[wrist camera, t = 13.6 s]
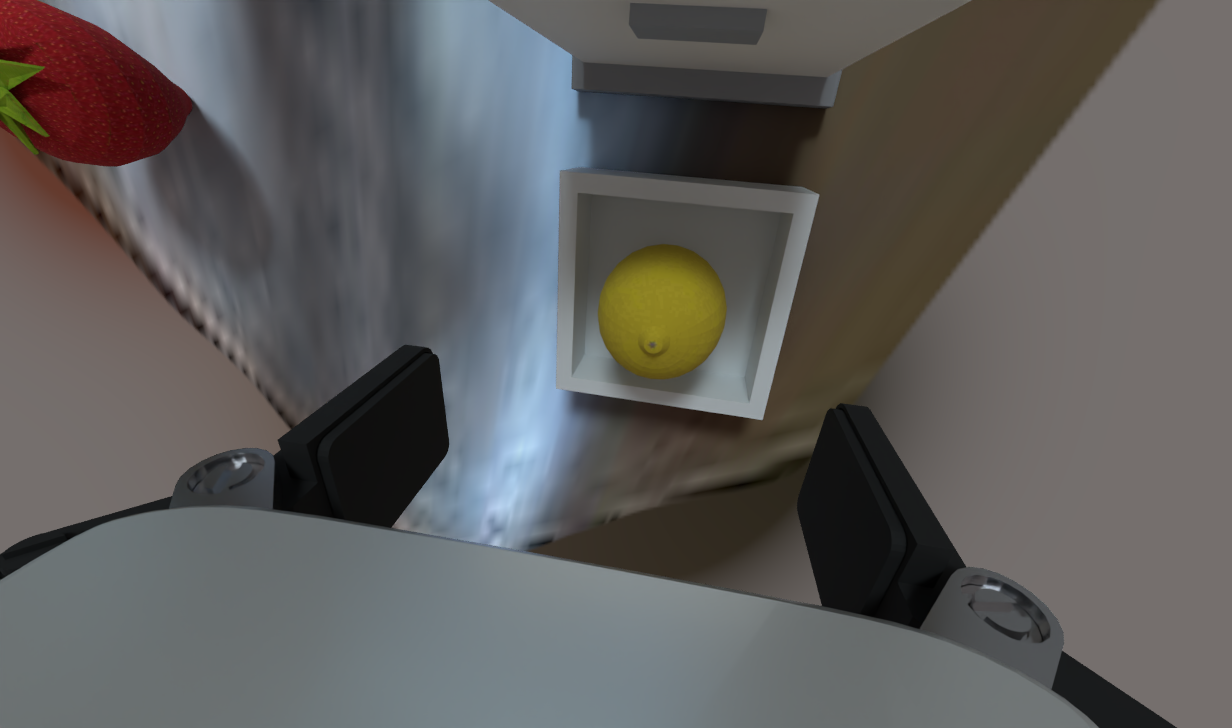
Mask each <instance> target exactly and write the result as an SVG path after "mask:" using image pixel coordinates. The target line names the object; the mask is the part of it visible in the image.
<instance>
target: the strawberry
mask: <svg viewBox="0 0 1232 728" xmlns="http://www.w3.org/2000/svg"><path fill="white" fill-rule="evenodd" d="M191 110H192V102H191V100H190V98H189V96H188V95H187V94H186V93H185V91H183V90H182V89H181V88H180V87H179V86H177V85H176V84H174V83H173V82H171V81H170V80H169V79H168V78H167V77H166V76H165V75H163V74H162V73H161V72H160V71H159V70H158V69H157V68H156V67H155V66H154V65H152V64H151V63H149V62H148V61H147V60H145V59H144V58H143V57H141V56H140V55H139V54H137V53H136V52H134V51H133V50H132V49H130V48H129V47H128V46H126V45H125V44H123V43H122V42H121V41H119V40H118V39H117V38H115V37H114V36H112V35H111V34H110V33H108V32H107V31H105V30H103V29H101V28H100V27H98V26H96V25H94V24H92V23H90V22H87V21H85V20H83V19H80V18H78V17H76V16H73V15H71V14H69V13H66V12H64V11H62V10H59V9H57V8H55V7H52V6H50V5H48V4H45V3H43V2H40V1H38V0H0V127H2V128H3V129H5V130H6V131H7V132H9V133H10V134H12V135H13V136H15V137H17V138H19V139H20V140H21V141H22V142H23V143H24V144H25V145H26V146H27V147H28V148H29V149H30V151H31V152H32V153H33V154H39V153H38V151H37V149H39V150H41V151H43V152H45V153H47V154H49V155H52V156H54V157H57V158H59V159H62V160H66V161H71V162H76V163H84V164H92V165H99V166H121V165H125V164H128V163H131V162H134V161H137V160H140V159H143V158H147V157H150V156H153V155H156V154H158V153H160V152H161V151H163V150H164V149H165V148H166V147H167V146H168V145H169V144H170V143H171V141H172V140H173V139H174V138H175V137H176V136H177V135H178V134H179V133H180V131H181V130H182V128H183V126H184V124H185V121H186V118H187V116H188V115H189V114H190V112H191ZM36 148H37V149H36Z"/></svg>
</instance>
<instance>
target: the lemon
mask: <svg viewBox="0 0 1232 728" xmlns="http://www.w3.org/2000/svg"><path fill="white" fill-rule="evenodd" d="M726 312H727V305H726V298H725V291H724V288H723V286H722V284H721V281H720V279H719V277H718V275H717V273H716V272H715V271H714V269H713V268H712V267H711V266H710V264H709V263H708V262H707V261H706V260H705V259H703V258H702V257H701V256H699V255H698V254H697V253H695V252H694V251H692V250H689V249H686V248H684V247H681V246H678V245H669V244H659V245H652V246H647V247H644V248H642V249H639V250H637V251H635V252H632V253H631V254H630V255H628V256H627V257H626V258H624V259H623V260H622V261H620V262H619V263H618V264H617V266H616V267H615V268H614V269H613V271H612V272H611V273H610V275H609V276H608V277H607V279H606V282H605V284H604V286H603V289H602V291H601V294H600V299H599V306H598V322H599V330H600V334H601V337H602V339H603V342H604V344H605V347H606V348H607V350H608V351H609V352H610V354H611V355H612V357H613V358H614V359H615V361H617V362H618V363H619V364H620V365H621V366H622V367H624V368H625V369H626V370H628V371H630V372H632V373H634V374H636V375H638V376H642V377H645V378H649V379H664V380H665V379H670V378H675V377H679V376H681V375H684V374H686V373H688V372H690V371H692V370H694V369H695V368H697V367H698V366H699V365H700V364H702V363H703V362H704V361H705V360H706V359H707V358H708V357H709V355H710V354H711V353H712V351H713V350H714V349H715V347H716V346H717V344H718V342H719V339H720V337H721V335H722V332H723V330H724V326H725V320H726Z"/></svg>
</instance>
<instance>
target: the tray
mask: <svg viewBox="0 0 1232 728" xmlns="http://www.w3.org/2000/svg"><path fill="white" fill-rule="evenodd" d="M818 198H819V194H817V193H815V192H813V191H810V190H808V189H806V188H804V187H797V186H786V185H775V184H764V183H753V182H742V181H731V180H720V179H709V178H698V177H687V176H676V175H665V174H654V173H643V172H632V171H620V170H609V169H598V168H587V167H577V168H571V169H566V170H561V171H560V196H559V254H558V312H557V370H556V389H562V390H569V391H575V392H582V393H588V394H595V395H602V396H608V397H615V398H621V399H628V400H634V401H641V402H648V403H654V404H661V405H667V406H674V407H680V408H687V409H694V410H700V411H707V412H713V413H720V414H727V415H733V416H740V417H746V418H753V419H759V420H763V416H764V412H765V408H766V404H767V400H768V396H769V392H770V388H771V384H772V380H773V376H774V372H775V368H776V364H777V360H778V356H779V352H780V349H781V345H782V341H783V337H784V333H785V329H786V325H787V321H788V317H789V313H790V309H791V305H792V301H793V297H794V293H795V289H796V285H797V281H798V277H799V273H800V269H801V265H802V261H803V257H804V253H805V249H806V246H807V242H808V238H809V234H810V230H811V226H812V222H813V218H814V214H815V210H816V206H817V202H818ZM659 244H669V245H678V246H681V247H684V248H686V249H689V250H692V251H694V252H695V253H697V254H698V255H699V256H701V257H702V258H703V259H705V260H706V261H707V262H708V263H709V264H710V266H711V267H712V268H713V269H714V271H715V272H716V273H717V275H718V277H719V279H720V281H721V284H722V286H723V288H724V291H725V298H726V305H727V312H726V320H725V326H724V330H723V332H722V335H721V337H720V339H719V342H718V344H717V346H716V347H715V349H714V350H713V351H712V353H711V354H710V355H709V357H708V358H707V359H706V360H705V361H704V362H703V363H702V364H700V365H699V366H698V367H697V368H695V369H694V370H692V371H690V372H688V373H686V374H684V375H681V376H679V377H675V378H670V379H665V380H664V379H649V378H645V377H642V376H638V375H636V374H634V373H632V372H630V371H628V370H626V369H625V368H624V367H622V366H621V365H620V364H619V363H618V362H617V361H615V359H614V358H613V357H612V355H611V354H610V352H609V351H608V350H607V348H606V347H605V344H604V342H603V339H602V337H601V334H600V330H599V322H598V306H599V299H600V294H601V291H602V289H603V286H604V284H605V282H606V279H607V277H608V276H609V275H610V273H611V272H612V271H613V269H614V268H615V267H616V266H617V264H618V263H619V262H620V261H622V260H623V259H624V258H626V257H627V256H628V255H630V254H631V253H632V252H635V251H637V250H639V249H642V248H644V247H647V246H652V245H659Z"/></svg>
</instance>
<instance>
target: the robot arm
mask: <svg viewBox="0 0 1232 728" xmlns="http://www.w3.org/2000/svg"><path fill="white" fill-rule="evenodd" d="M278 442H279V445H280V448H281V450H280V451H279V452H278V453H276V454H275V455H274V456H273V455H272V454H271V453H269V452H268V451H267V450H262V449H258V448H243V449H237V450H230V451H227V452H223V453H220V454H216V455H214V456H212V457H210V458H207V459H205V460H203V461H201V462H199V463H198V464H196V465H194V466H193V467H191V468H190V469H188V470H187V471H186V472H185V473H184V474H183V475H182V476H181V477H180V478H179V480H178V482H177V484H176V486H175V489H174V492H173V496H171V497H167V498H164V499H161V500H157V501H154V502H150V503H147V504H143V505H140V506H137V507H133V508H129V509H126V510H123V511H119V512H115V513H112V514H109V515H105V516H102V517H98V518H95V519H91V520H88V521H84V522H81V523H78V524H74V525H70V526H67V527H63V528H60V529H57V530H53V531H50V532H47V533H43V534H39V535H35V536H32V537H29V538H27V539H25V540H23V541H20V542H18V543H17V544H15V545H13V546H11V547H10V548H8V549H7V550H6V551H5V552H3V553H2V554H0V728H1177V727H1175V726H1173V725H1172V724H1170V723H1169V722H1168V721H1166V720H1165V719H1163V718H1162V717H1160V716H1159V715H1157V714H1156V713H1154V712H1153V711H1151V710H1149V709H1148V708H1147V707H1145V706H1144V705H1142V704H1141V703H1139V702H1138V701H1136V700H1135V699H1133V698H1131V697H1130V696H1129V695H1127V694H1126V693H1124V692H1123V691H1121V690H1120V689H1118V688H1117V687H1115V686H1114V685H1112V684H1111V683H1109V682H1108V681H1106V680H1105V679H1103V678H1102V677H1100V676H1099V675H1097V674H1096V673H1095V672H1093V671H1092V670H1090V669H1089V668H1087V667H1086V666H1084V665H1083V664H1081V663H1079V662H1078V661H1076V660H1075V659H1074V658H1072V657H1071V656H1069V655H1068V654H1066V653H1065V652H1063V651H1062V649H1063V645H1064V637H1063V636H1064V635H1063V630H1062V628H1061V626H1060V624H1059V622H1058V620H1057V618H1056V617H1055V616H1054V615H1053V613H1052V612H1051V611H1050V610H1049V608H1048V607H1047V606H1046V605H1045V604H1044V603H1043V602H1042V601H1040V600H1039V599H1038V598H1037V597H1036V596H1035V595H1034V594H1033V593H1032V592H1030V591H1028V590H1027V589H1026V588H1024V587H1023V586H1021V585H1019V584H1018V583H1017V582H1015V581H1013V580H1011V579H1009V578H1007V577H1005V576H1003V575H1001V574H999V573H996V572H992V571H990V570H986V569H983V568H975V567H966V566H965V564H964V563H963V561H962V559H961V557H960V556H959V554H958V553H957V551H956V549H955V548H954V546H953V544H952V543H951V541H950V540H949V538H948V536H947V535H946V533H945V531H944V530H943V528H942V526H941V525H940V523H939V521H938V520H937V518H936V517H935V515H934V513H933V512H932V510H931V508H930V507H929V505H928V504H927V502H926V500H925V499H924V497H923V496H922V494H921V492H920V490H919V489H918V487H917V485H916V484H915V482H914V481H913V479H912V477H911V476H910V474H909V473H908V471H907V469H906V468H905V466H904V464H903V463H902V461H901V459H900V458H899V456H898V455H897V453H896V452H895V450H894V448H893V446H892V445H891V443H890V441H889V440H888V438H887V437H886V435H885V434H884V432H883V430H882V428H881V427H880V425H879V423H878V422H877V420H876V419H875V417H874V415H873V414H872V412H871V410H870V409H869V408H868V407H864V406H857V405H849V404H842V403H841V404H839V405H838V406H837V407H836V409H832V408H830V409H829V410H828V411H827V414H826V416H825V419H824V422H823V425H822V428H821V431H820V434H819V437H818V440H817V443H816V446H815V449H814V452H813V455H812V458H811V461H810V464H809V467H808V470H807V473H806V476H805V479H804V482H803V485H802V488H801V491H800V494H799V497H798V502H797V511H798V515H799V519H800V523H801V527H802V531H803V535H804V539H805V542H806V546H807V550H808V554H809V558H810V561H811V565H812V569H813V573H814V577H815V580H816V584H817V588H818V592H819V595H820V599H821V604H822V606H819V605H814V604H808V603H802V602H797V601H791V600H787V599H782V598H777V597H771V596H766V595H761V594H756V593H750V592H745V591H739V590H734V589H729V588H723V587H718V586H712V585H707V584H702V583H696V582H690V581H685V580H680V579H674V578H669V577H664V576H658V575H653V574H648V573H642V572H636V571H631V570H626V569H620V568H615V567H609V566H603V565H598V564H593V563H587V562H581V561H576V560H570V559H565V558H559V557H553V556H547V555H542V554H536V553H531V552H526V551H520V550H514V549H509V548H503V547H498V546H492V545H486V544H481V543H475V542H469V541H463V540H458V539H452V538H446V537H440V536H434V535H429V534H423V533H417V532H411V531H406V530H400V529H394V528H391V527H392V526H393V525H394V523H395V522H396V521H397V519H398V518H399V517H400V515H401V514H402V513H403V511H404V510H405V509H406V508H407V506H408V505H409V504H410V502H411V501H412V500H413V498H414V497H415V496H416V494H417V493H418V492H419V490H420V489H421V488H422V486H423V485H424V484H425V483H426V481H427V480H428V479H429V477H430V476H431V475H432V473H433V472H434V471H435V469H436V468H437V467H438V465H439V464H440V463H441V461H442V460H443V459H444V457H445V456H446V454H447V452H448V448H449V437H448V429H447V421H446V413H445V405H444V397H443V389H442V381H441V373H440V365H439V359H438V357H437V355H435V354H433V353H432V351H431V349H429V348H426V347H419V346H412V345H404V346H402V347H401V348H399V349H398V350H397V351H395V352H394V353H393V354H391V355H390V356H389V357H387V358H386V359H385V360H383V361H382V362H381V363H379V364H378V365H377V366H375V367H374V368H373V369H371V370H370V371H369V372H367V373H366V374H365V375H363V376H362V377H361V378H359V379H358V380H357V381H355V382H354V383H353V384H351V385H350V386H349V387H347V388H346V389H345V390H343V391H342V392H341V393H339V394H338V395H337V396H335V397H334V398H333V399H331V400H330V401H329V402H327V403H326V404H325V405H323V406H322V407H321V408H319V409H318V410H317V411H315V412H314V413H313V414H311V415H310V416H309V417H307V418H306V419H305V420H303V421H302V422H301V423H299V424H298V425H297V426H295V427H294V428H293V429H291V430H290V431H289V432H288V433H286V434H285V435H283V436H282V437H281V438H280V439H278Z"/></svg>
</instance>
